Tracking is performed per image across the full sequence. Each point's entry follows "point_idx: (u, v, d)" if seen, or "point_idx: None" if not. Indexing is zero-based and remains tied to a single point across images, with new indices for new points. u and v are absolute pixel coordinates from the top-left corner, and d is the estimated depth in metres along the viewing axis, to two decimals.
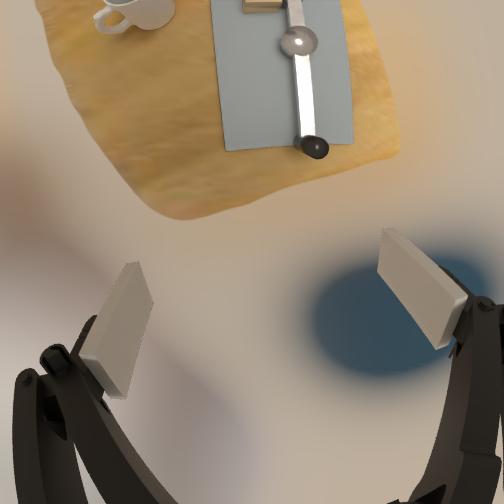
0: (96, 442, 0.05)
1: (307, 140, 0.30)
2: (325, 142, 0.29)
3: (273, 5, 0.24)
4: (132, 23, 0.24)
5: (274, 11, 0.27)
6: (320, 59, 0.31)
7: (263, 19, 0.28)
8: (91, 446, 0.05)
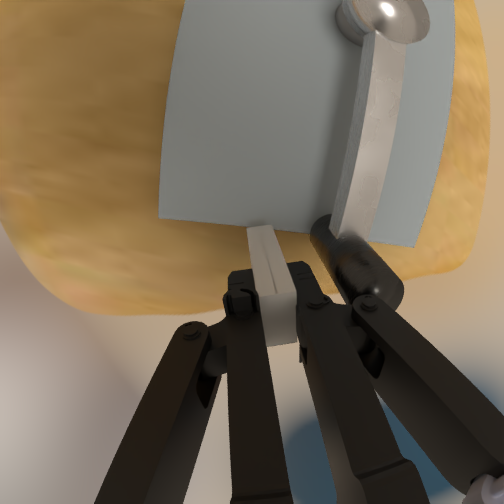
0: (254, 396, 0.06)
1: (357, 271, 0.11)
2: (400, 288, 0.11)
3: None
4: None
5: None
6: (407, 66, 0.13)
7: None
8: (246, 398, 0.06)
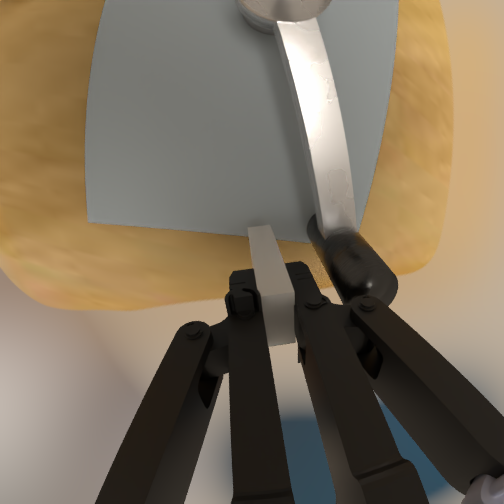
0: (256, 396, 0.06)
1: (343, 272, 0.12)
2: (391, 276, 0.11)
3: None
4: None
5: None
6: (330, 49, 0.13)
7: None
8: (248, 398, 0.06)
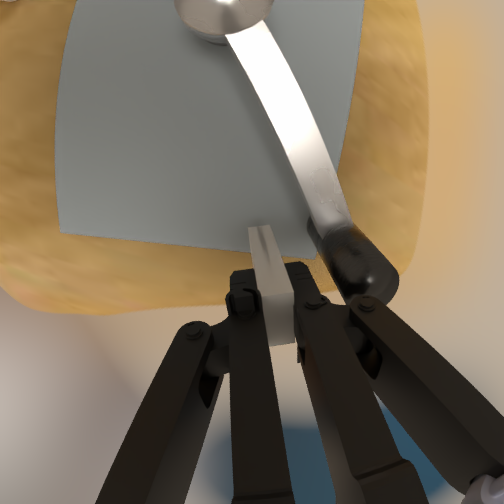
0: (256, 396, 0.06)
1: (340, 272, 0.11)
2: (389, 269, 0.10)
3: None
4: None
5: None
6: (285, 55, 0.13)
7: None
8: (248, 398, 0.06)
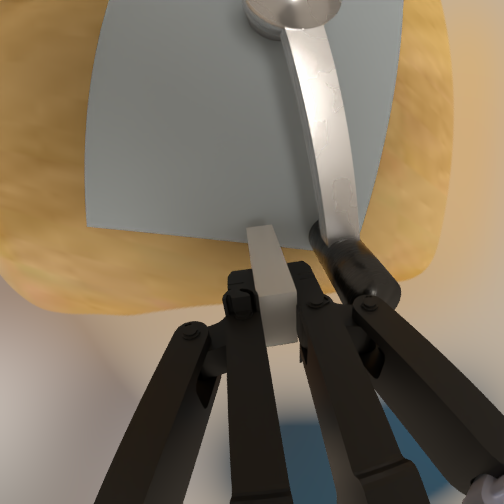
0: (254, 396, 0.06)
1: (347, 281, 0.12)
2: (394, 285, 0.11)
3: None
4: None
5: None
6: (334, 56, 0.13)
7: None
8: (246, 398, 0.06)
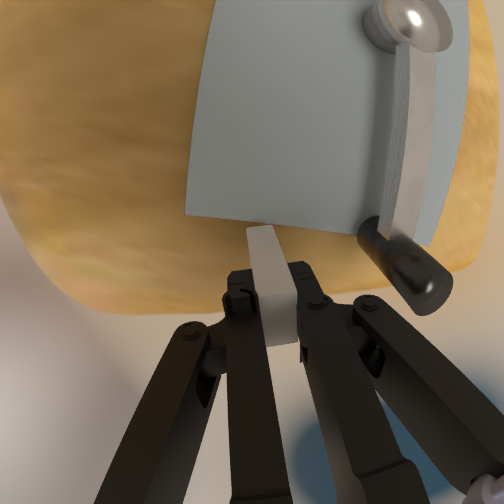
0: (253, 396, 0.06)
1: (415, 269, 0.11)
2: (450, 281, 0.11)
3: None
4: None
5: None
6: None
7: None
8: (246, 398, 0.06)
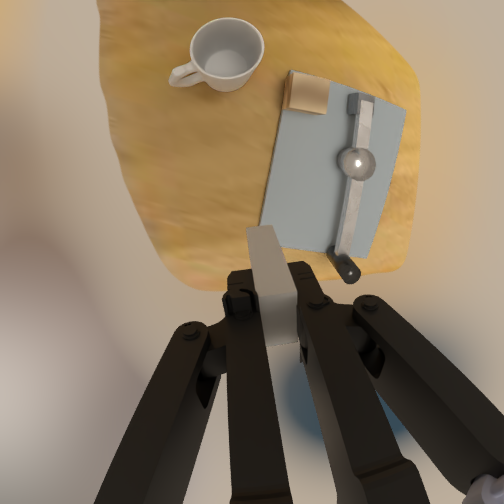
0: (254, 396, 0.06)
1: (344, 266, 0.36)
2: (359, 271, 0.35)
3: (315, 113, 0.30)
4: (204, 81, 0.28)
5: (313, 114, 0.33)
6: None
7: (331, 122, 0.34)
8: (246, 398, 0.06)
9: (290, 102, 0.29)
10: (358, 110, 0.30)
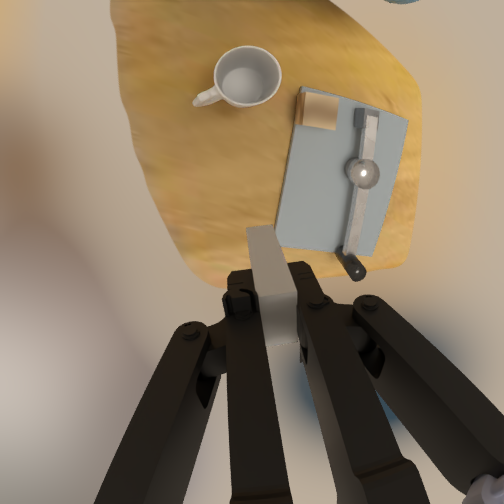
0: (253, 396, 0.06)
1: (351, 266, 0.40)
2: (364, 270, 0.39)
3: None
4: (223, 99, 0.32)
5: None
6: None
7: (339, 134, 0.37)
8: (245, 398, 0.06)
9: (303, 120, 0.32)
10: (364, 125, 0.33)
